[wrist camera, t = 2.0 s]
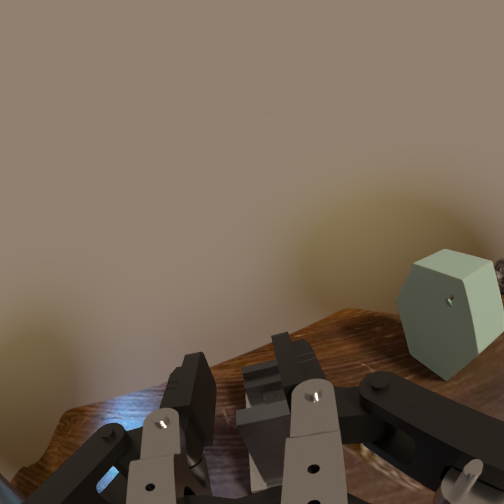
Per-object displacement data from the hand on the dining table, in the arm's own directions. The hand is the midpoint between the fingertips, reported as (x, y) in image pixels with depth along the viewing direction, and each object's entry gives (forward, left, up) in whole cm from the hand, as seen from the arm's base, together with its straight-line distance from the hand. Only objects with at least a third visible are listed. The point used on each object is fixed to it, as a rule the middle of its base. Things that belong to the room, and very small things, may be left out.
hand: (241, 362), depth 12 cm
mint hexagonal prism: (+17, +31, -26) cm, 44 cm away
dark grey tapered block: (-5, +10, -20) cm, 23 cm away
